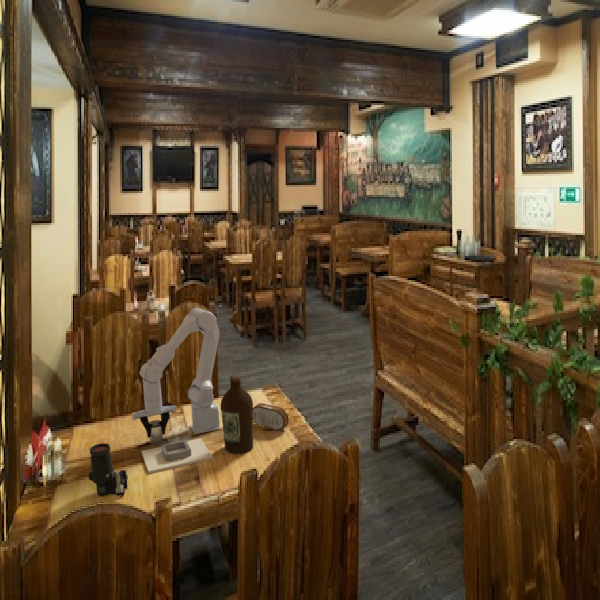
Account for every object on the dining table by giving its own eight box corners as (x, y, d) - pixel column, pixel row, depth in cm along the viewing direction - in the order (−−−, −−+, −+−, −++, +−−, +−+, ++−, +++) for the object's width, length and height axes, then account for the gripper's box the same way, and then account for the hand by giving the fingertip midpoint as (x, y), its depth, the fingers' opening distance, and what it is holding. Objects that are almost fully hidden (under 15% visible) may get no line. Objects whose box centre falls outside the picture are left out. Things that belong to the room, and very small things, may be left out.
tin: (289, 430, 187) (288, 408, 185) (284, 433, 184) (283, 411, 183) (256, 422, 195) (255, 400, 193) (250, 425, 192) (249, 403, 191)
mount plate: (201, 440, 181) (200, 432, 180) (212, 458, 167) (211, 450, 167) (141, 453, 173) (140, 444, 172) (148, 473, 159) (147, 464, 159)
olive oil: (235, 438, 182) (231, 369, 177) (261, 444, 176) (257, 373, 172) (216, 451, 172) (212, 379, 168) (243, 457, 167) (238, 383, 163)
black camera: (117, 453, 143) (80, 455, 143) (122, 499, 146) (85, 501, 145) (125, 439, 151) (90, 442, 151) (129, 483, 154) (95, 486, 153)
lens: (162, 437, 184) (160, 419, 183) (164, 442, 180) (162, 423, 179) (149, 440, 182) (147, 421, 181) (151, 445, 178) (149, 426, 177)
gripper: (172, 390, 185) (175, 426, 187) (129, 397, 179) (133, 435, 181) (176, 396, 178) (179, 434, 181) (132, 404, 172) (135, 443, 175)
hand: (156, 435), depth 181 cm, fingers closed on lens, 4 cm apart
